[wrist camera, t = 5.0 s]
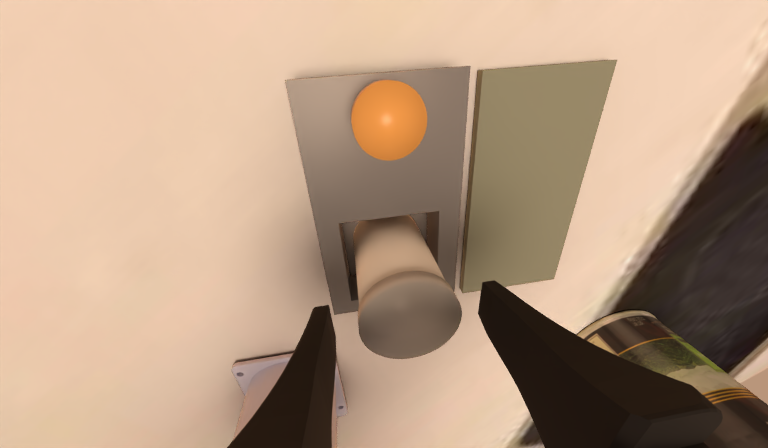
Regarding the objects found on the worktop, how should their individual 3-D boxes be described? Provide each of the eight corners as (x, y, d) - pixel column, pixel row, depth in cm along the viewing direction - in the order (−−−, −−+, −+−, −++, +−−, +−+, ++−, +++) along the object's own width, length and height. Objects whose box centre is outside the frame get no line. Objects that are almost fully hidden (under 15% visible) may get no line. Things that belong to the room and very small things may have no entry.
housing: (442, 272, 21) (453, 296, 19) (334, 288, 20) (334, 314, 18) (450, 67, 14) (470, 66, 12) (293, 79, 14) (284, 80, 12)
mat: (549, 274, 23) (554, 279, 22) (459, 287, 22) (462, 293, 21) (607, 60, 15) (617, 59, 15) (477, 70, 15) (482, 70, 14)
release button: (408, 139, 15) (427, 156, 12) (352, 144, 15) (356, 164, 12) (407, 76, 14) (427, 77, 10) (345, 81, 13) (347, 83, 10)
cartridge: (419, 260, 20) (458, 349, 14) (355, 269, 20) (364, 366, 13) (419, 202, 18) (465, 275, 11) (347, 210, 18) (352, 292, 11)
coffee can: (637, 291, 25) (918, 497, 13) (668, 337, 30) (901, 523, 17) (541, 354, 28) (702, 576, 16) (583, 388, 32) (734, 582, 20)
